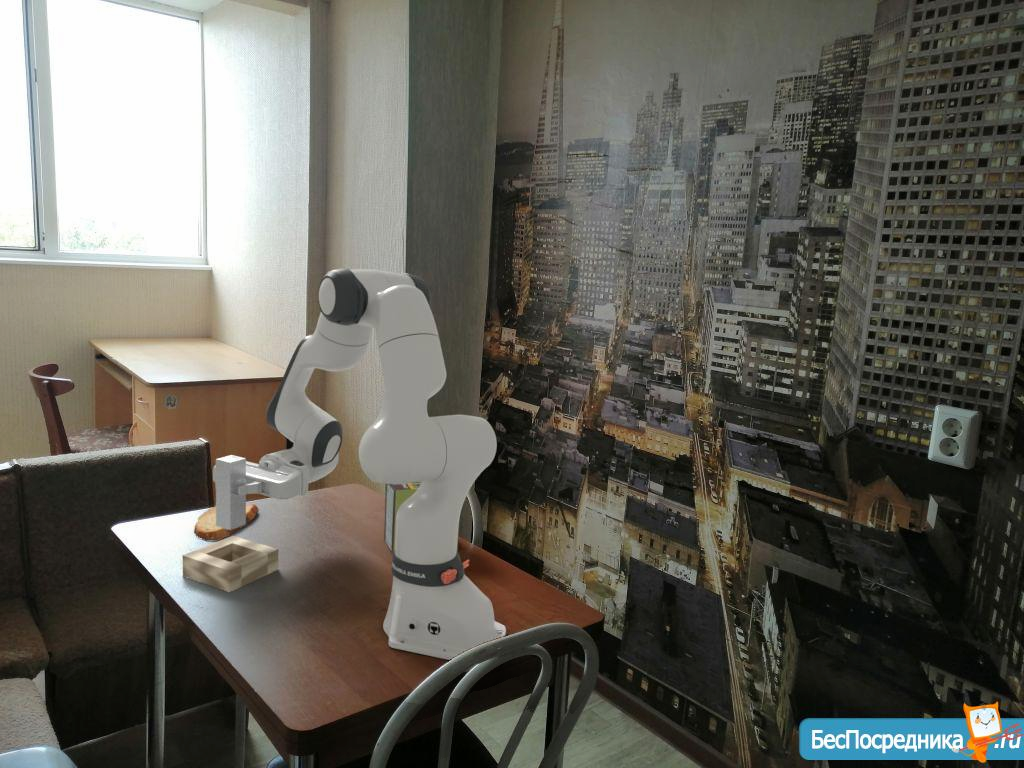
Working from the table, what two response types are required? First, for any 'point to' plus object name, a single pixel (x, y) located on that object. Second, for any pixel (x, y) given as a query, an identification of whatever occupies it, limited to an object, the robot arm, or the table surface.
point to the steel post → (230, 492)
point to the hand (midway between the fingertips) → (227, 488)
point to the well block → (230, 563)
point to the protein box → (396, 508)
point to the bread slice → (212, 532)
